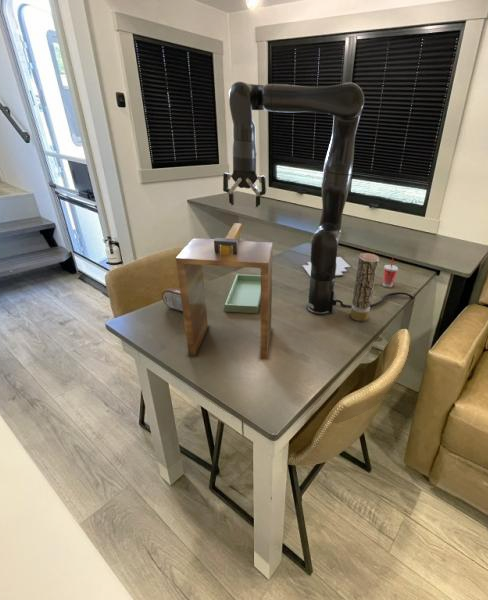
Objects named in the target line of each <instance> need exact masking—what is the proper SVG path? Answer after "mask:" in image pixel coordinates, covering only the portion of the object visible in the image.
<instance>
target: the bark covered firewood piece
mask: <svg viewBox="0 0 488 600" xmlns="http://www.w3.org/2000/svg"><path fill="white" fill-rule="evenodd" d="M379 262H380V257H379V255H377V254H374V253H370V252H363V253H360V254H359V257H358V263H357V268H356V269H357V270H356V274H355V282H354V288H353V295H352V302H351V306H352V307H350V308H351V309H350V314H349V315H350V318H351V319H352V320H354V321H357V322H365V321H366V320H368V318H369V314H370V310H371V307H370V305H371V304H372V299H373V293H374V287H375V282H376V277H377V273H378V266H379Z"/></svg>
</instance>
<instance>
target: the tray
mask: <svg viewBox="0 0 488 600" xmlns="http://www.w3.org/2000/svg"><path fill="white" fill-rule="evenodd" d="M260 305H261V274H260V275H258V274H241V273H240V274H239V273H236V275H235V278H234V280H233V283H232V285H231V288H230V290H229V293H228V295H227V298H226V300H225V303H224V312H225V313H243V314H244V313H245V314H247V313H248V314H258V312H259V308H260Z"/></svg>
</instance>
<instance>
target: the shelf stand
mask: <svg viewBox="0 0 488 600" xmlns="http://www.w3.org/2000/svg"><path fill="white" fill-rule="evenodd" d="M221 245H233V250H232V252H231V254H230V255H221V249H220V246H221ZM273 246H274V245H273V242H267V241H266V242H265V241H248V240H239V238H238V239H227V238H226V237H224V238H223V237H215V238H213V239H212V238H198V237H197V238H195V237H193V238H191V240H190V241H189V242H188V243H187V244H186V246H185V247H184V248H183V249H182V250H181V251H180V253H179V254H178V255H177V256H176V257H175V264H176V271H177V278H178V286H179V289H180V294H181V301H182V309H183V312H182V315H183V324H184V330H185V338H186V345H187V353H188V356H191V357H192V356H193V357H195V356H197V353H198V351H199V348H200V346H201V343H202V341H203V339H204V337H205V334H206V332H207V330H208V327H209V326H208V325H209V324H208V314H207V313H208V312H207V302H206V301H207V300H206V292H205V282H204V281H205V279H204V271H203V266H216V267H234V268H235V267H236V268H251V269H252V268H253V269H260V276H261V299H260V359H264V360H266V359H268V355H269V348H270V341H271V332H272V300H273V299H272V298H273V296H272V295H273V290H272V289H273Z"/></svg>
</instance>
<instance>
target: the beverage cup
mask: <svg viewBox="0 0 488 600" xmlns="http://www.w3.org/2000/svg"><path fill="white" fill-rule="evenodd" d="M394 258H395V257H394V256H392V258H391V263H390V264H385V265H383V266H384V267H383V269H384V270H383V277H382V286H383V287H386V288H392V287H393V286H394V283H395V278H396V275H397V272H398V270H399V267H398V266H397V265H394Z"/></svg>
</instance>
